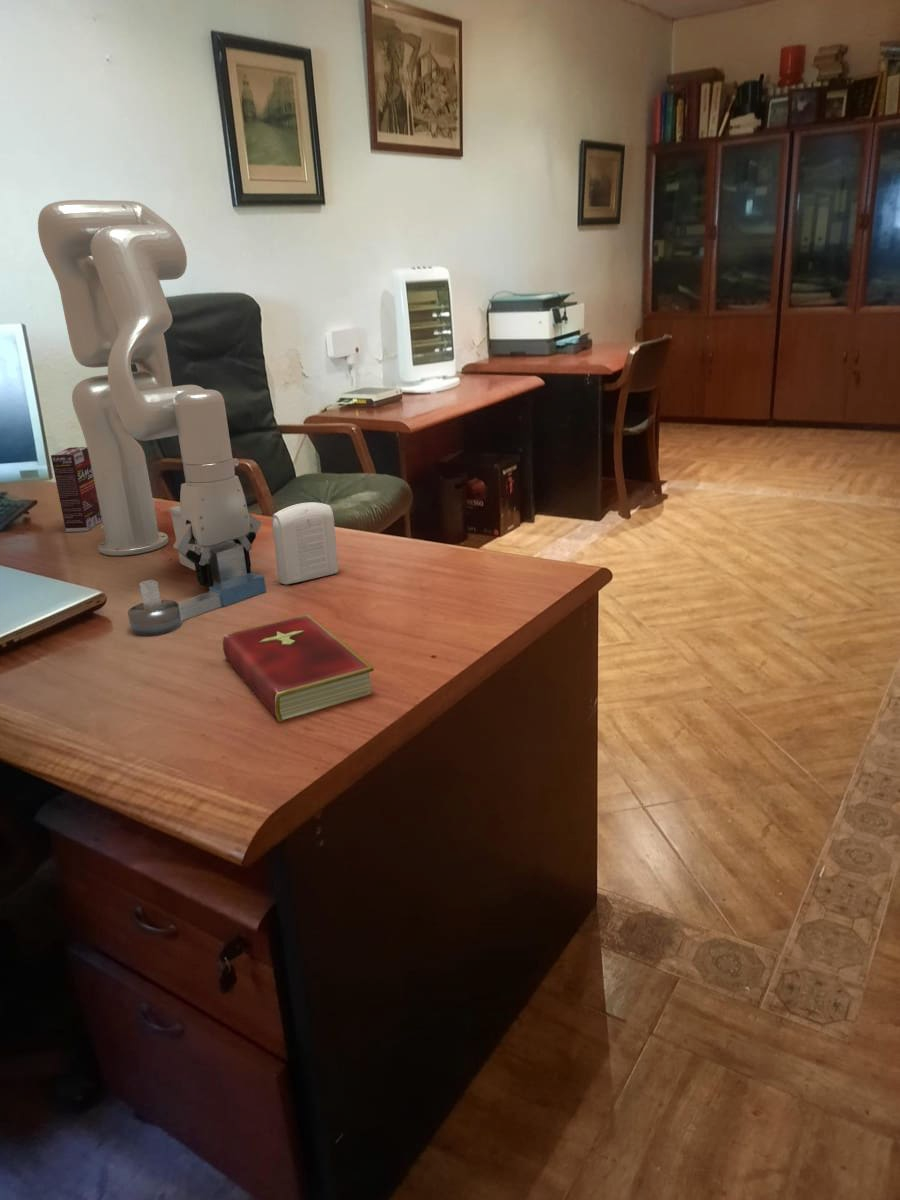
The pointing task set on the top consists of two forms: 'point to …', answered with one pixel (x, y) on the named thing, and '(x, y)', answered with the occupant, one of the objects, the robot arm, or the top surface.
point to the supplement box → (76, 489)
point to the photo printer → (304, 542)
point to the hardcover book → (297, 666)
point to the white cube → (226, 561)
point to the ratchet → (187, 604)
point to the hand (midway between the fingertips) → (225, 579)
